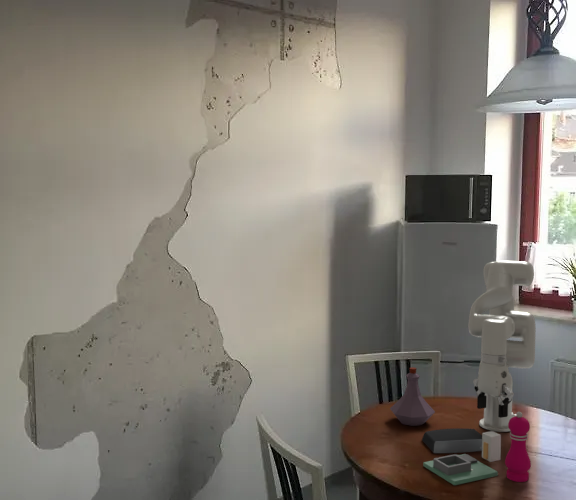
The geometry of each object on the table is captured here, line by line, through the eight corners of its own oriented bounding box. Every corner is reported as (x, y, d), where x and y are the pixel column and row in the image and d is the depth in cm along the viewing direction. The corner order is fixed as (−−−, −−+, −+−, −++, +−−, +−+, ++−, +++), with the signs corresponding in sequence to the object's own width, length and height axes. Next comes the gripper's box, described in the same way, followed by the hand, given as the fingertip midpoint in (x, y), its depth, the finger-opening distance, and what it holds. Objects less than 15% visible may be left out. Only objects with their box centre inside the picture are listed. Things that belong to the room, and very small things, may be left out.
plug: (491, 455, 216) (492, 431, 216) (500, 459, 213) (501, 435, 212) (480, 457, 214) (481, 433, 214) (489, 462, 211) (489, 437, 210)
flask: (387, 427, 242) (388, 372, 240) (391, 412, 258) (392, 361, 256) (434, 431, 238) (435, 375, 236) (435, 416, 254) (436, 363, 252)
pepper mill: (500, 473, 203) (502, 408, 201) (524, 472, 203) (525, 407, 201) (510, 483, 195) (512, 416, 194) (534, 482, 196) (536, 415, 194)
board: (465, 457, 214) (465, 446, 214) (497, 475, 201) (498, 463, 200) (423, 466, 208) (423, 454, 208) (454, 485, 194) (454, 473, 194)
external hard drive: (491, 452, 220) (491, 440, 220) (434, 455, 217) (434, 443, 217) (474, 437, 233) (475, 426, 233) (420, 440, 230) (421, 428, 230)
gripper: (522, 363, 204) (521, 419, 205) (484, 352, 220) (483, 403, 221) (503, 365, 201) (502, 422, 202) (465, 354, 217) (464, 406, 218)
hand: (492, 412), depth 212 cm, fingers open, 9 cm apart
